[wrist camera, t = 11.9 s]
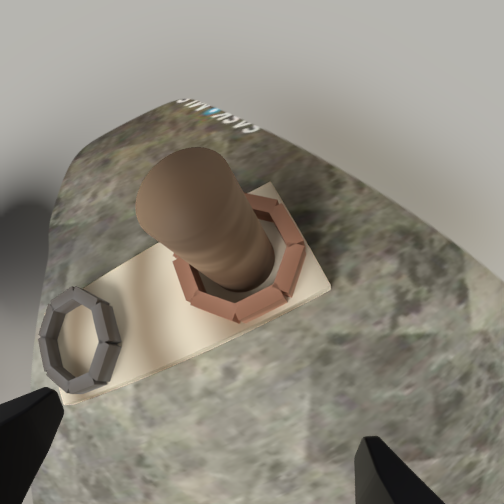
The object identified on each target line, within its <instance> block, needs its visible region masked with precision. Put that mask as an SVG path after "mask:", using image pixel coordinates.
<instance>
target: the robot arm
mask: <svg viewBox="0 0 504 504" xmlns="http://www.w3.org/2000/svg"><path fill="white" fill-rule="evenodd" d="M63 415H64V409H63V406H62V403H61V401H60V398H59V396H58V393H57V392H56V391H55V390H53V389H51V388H48V387H44V388H41V389H38V390H36V391H33V392H31V393H29V394H26V395H23V396H21V397H18V398H16V399H13V400H11V401H8V402H5V403H3V404H0V504H22V502H23V500H24V498H25V496H26V494H27V492H28V490H29V488H30V486H31V484H32V482H33V480H34V478H35V476H36V474H37V472H38V470H39V468H40V466H41V464H42V463H43V461H44V459H45V457H46V455H47V453H48V451H49V449H50V446H51V444H52V442H53V439H54V437H55V434H56V432H57V429H58V427H59V425H60V422H61V420H62V418H63ZM354 464H355V500H356V504H445V503H444V502H443V501H442V500H441V499H440V498H439V497H438V496H437V495H436V494H435V493H434V492H433V491H432V490H431V489H430V488H429V487H428V486H427V485H426V484H425V483H424V482H423V481H422V480H421V479H420V478H419V477H418V476H417V475H416V474H415V473H414V472H413V471H412V470H411V469H410V468H409V467H408V466H407V465H406V464H405V463H404V462H403V461H402V460H401V459H400V458H399V457H398V456H397V455H396V454H395V453H394V452H393V451H392V450H391V449H390V448H389V447H388V446H387V445H386V444H385V443H384V442H383V440H382V439H381V438H380V437H378V436H366V437H363V438H362V440H361V443H360V445H359V447H358V450H357V452H356V454H355V460H354Z"/></svg>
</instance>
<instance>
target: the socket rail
mask: <svg viewBox="0 0 504 504" xmlns="http://www.w3.org/2000/svg"><path fill="white" fill-rule="evenodd" d="M244 194H245V196H246V198H247V200H248V201H249V203H250V205H251V207H252V209H253V211H254V213H255V214H256V216H257V218H258V220H259V222H260V224H261V225H262V227H263V229H264V231H265V233H266V235H267V237H268V238H269V240H270V242H271V244H272V246H273V249H274V254H275V261H274V266H273V269H272V272H271V274H270V275H269V277H268V278H267V279H266V281H265V282H264V283H263V284H261V285H260V286H259V287H257V288H255V289H253V290H251V291H247V292H241V293H240V292H231V291H228V290H226V289H224V288H223V287H221V286H220V285H218V284H217V283H215V282H214V281H213V280H211V279H210V278H208V277H207V276H205V275H204V274H203V273H201V272H200V271H198V270H197V269H196V268H194V267H193V266H191V265H190V264H189V263H187V262H186V261H184V260H183V259H182V258H180V257H179V256H178V255H176V254H175V253H173V252H172V251H171V250H169V249H168V248H167V247H165V246H164V245H163V244H161V243H160V242H159V243H157V244H155V245H154V246H152V247H150V248H148V249H147V250H145V251H143V252H142V253H140V254H138V255H137V256H135V257H133V258H132V259H130V260H128V261H126V262H125V263H123V264H122V265H120V266H118V267H117V268H115V269H113V270H112V271H110V272H108V273H107V274H105V275H103V276H102V277H100V278H99V279H97V280H95V281H94V282H92V283H91V284H89V285H87V286H86V287H84V288H83V289H81V288H79V287H76V286H75V287H70V288H69V289H67V290H66V291H64V292H63V293H61V294H60V295H58V296H57V297H55V298H54V299H52V300H51V305H50V304H48V307H47V310H46V313H44V319H43V322H42V325H41V328H40V331H39V335H40V336H41V338H39V339H38V340H39V346H40V352H41V357H42V362H43V367H44V371H46V372H47V374H46V375H47V376H48V377H49V378H50V379H51V380H52V381H53V382H55V383H56V384H57V385H58V386H59V390H60V393H61V397H62V401H63V404H64V405H74V404H77V403H80V402H83V401H85V400H88V399H91V398H94V397H96V396H99V395H102V394H104V393H107V392H110V391H112V390H115V389H118V388H120V387H123V386H125V385H128V384H130V383H133V382H135V381H138V380H140V379H143V378H145V377H148V376H150V375H153V374H155V373H158V372H160V371H162V370H165V369H167V368H170V367H172V366H174V365H177V364H179V363H181V362H184V361H186V360H188V359H190V358H193V357H195V356H197V355H199V354H202V353H204V352H206V351H208V350H211V349H213V348H215V347H217V346H219V345H222V344H224V343H226V342H228V341H230V340H232V339H234V338H237V337H239V336H241V335H243V334H245V333H247V332H249V331H251V330H253V329H255V328H257V327H260V326H262V325H264V324H266V323H268V322H270V321H272V320H274V319H276V318H278V317H280V316H282V315H284V314H286V313H288V312H290V311H292V310H294V309H295V308H297V307H299V306H301V305H303V304H305V303H307V302H309V301H311V300H313V299H315V298H317V297H318V296H320V295H322V294H324V293H326V292H328V291H330V290H331V285H330V283H329V281H328V279H327V278H326V276H325V274H324V272H323V270H322V269H321V267H320V265H319V263H318V261H317V260H316V258H315V256H314V254H313V253H312V251H311V249H310V247H309V245H308V244H307V242H306V240H305V239H304V237H303V235H302V233H301V232H300V230H299V228H298V226H297V225H296V223H295V221H294V220H293V218H292V216H291V214H290V213H289V211H288V209H287V208H286V206H285V204H284V203H283V201H282V199H281V198H280V196H279V194H278V193H277V191H276V189H275V188H274V186H273V184H272V183H271V182H269V183H267V184H265V185H263V186H261V187H259V188H257V189H255V190H253V191H251V192H249V193H244Z"/></svg>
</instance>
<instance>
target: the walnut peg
mask: <svg viewBox="0 0 504 504" xmlns="http://www.w3.org/2000/svg"><path fill="white" fill-rule="evenodd" d="M136 215H137V219H138V221H139V224H140V225H141V227H142V228H143V230H145V231H146V232H147V233H148V234H149V235H150V236H152V237H153V238H154V239H156V240H157V241H159V242H160V243H161V244H163V245H164V246H165V247H167V248H168V249H169V250H171V251H172V252H173V253H175V254H176V255H178V256H179V257H180V258H182V259H183V260H184V261H186V262H187V263H189V264H190V265H191V266H193V267H194V268H196V269H197V270H198V271H200V272H201V273H203V274H204V275H205V276H207V277H208V278H210V279H211V280H213V281H214V282H215V283H217V284H218V285H220V286H221V287H223V288H224V289H226V290H228V291H231V292H240V293H241V292H247V291H251V290H253V289H255V288H257V287H259V286H260V285H261V284H263V283H264V282H265V281H266V279H267V278H268V277H269V275H270V274H271V272H272V269H273V266H274V261H275V254H274V249H273V246H272V244H271V242H270V240H269V238H268V237H267V235H266V233H265V231H264V229H263V227H262V225H261V224H260V222H259V220H258V218H257V216H256V214H255V213H254V211H253V209H252V207H251V205H250V203H249V201H248V200H247V198H246V196H245V194H244V192H243V191H242V189H241V187H240V185H239V183H238V181H237V180H236V178H235V176H234V174H233V172H232V171H231V169H230V167H229V165H228V163H227V162H226V160H225V159H224V158H223V157H222V156H221V155H220V154H219V153H217V152H215V151H213V150H211V149H207V148H201V147H192V148H186V149H182V150H179V151H177V152H174V153H172V154H170V155H168V156H167V157H165V158H164V159H162V160H161V161H160V162H158V163H157V164H156V165H155V166H154V167H153V168H152V169H151V170H150V172H149V173H148V174H147V175H146V177H145V178H144V180H143V182H142V184H141V186H140V188H139V191H138V194H137V198H136Z"/></svg>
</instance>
